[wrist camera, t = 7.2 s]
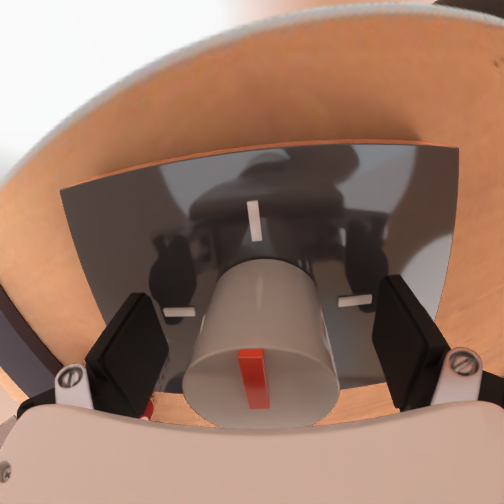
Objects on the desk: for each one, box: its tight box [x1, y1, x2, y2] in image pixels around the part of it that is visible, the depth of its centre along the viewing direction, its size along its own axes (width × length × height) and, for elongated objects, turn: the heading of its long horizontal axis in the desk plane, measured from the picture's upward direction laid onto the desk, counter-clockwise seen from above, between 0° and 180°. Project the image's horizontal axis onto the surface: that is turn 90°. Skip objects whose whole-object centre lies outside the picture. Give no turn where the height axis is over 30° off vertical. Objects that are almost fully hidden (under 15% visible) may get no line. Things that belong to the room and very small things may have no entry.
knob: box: [182, 259, 340, 429], centre depth 9 cm, size 4×4×5 cm
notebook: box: [0, 286, 64, 398], centre depth 20 cm, size 13×2×21 cm
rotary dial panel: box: [60, 139, 459, 394], centre depth 12 cm, size 16×12×3 cm
